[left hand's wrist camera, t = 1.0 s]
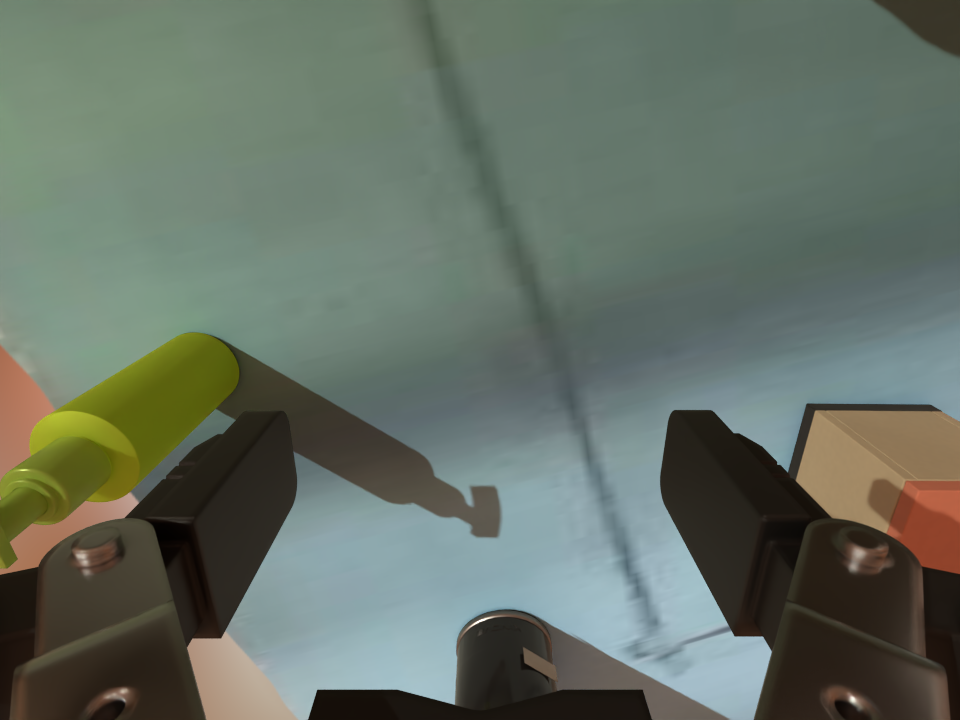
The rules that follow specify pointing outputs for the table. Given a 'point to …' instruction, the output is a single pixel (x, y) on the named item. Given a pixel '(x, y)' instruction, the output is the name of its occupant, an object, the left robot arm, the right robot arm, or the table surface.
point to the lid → (930, 523)
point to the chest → (872, 456)
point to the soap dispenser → (115, 433)
